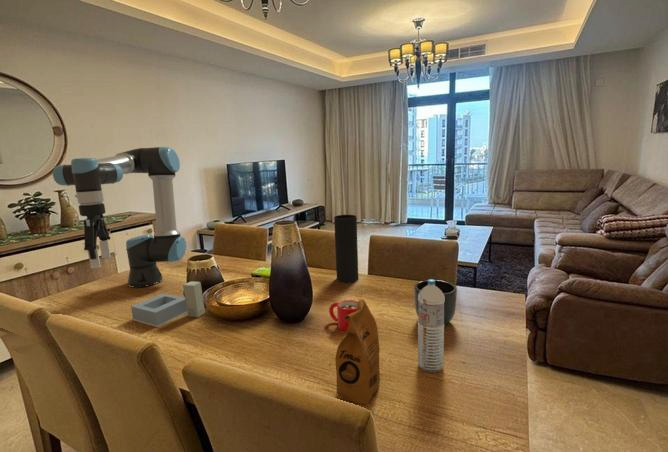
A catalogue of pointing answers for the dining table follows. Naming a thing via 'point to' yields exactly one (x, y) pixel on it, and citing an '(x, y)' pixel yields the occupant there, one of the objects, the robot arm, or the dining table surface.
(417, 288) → the planter
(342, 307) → the mug
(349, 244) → the vase
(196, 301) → the box
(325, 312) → the dining table surface
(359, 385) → the coffee package
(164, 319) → the socket
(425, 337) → the water bottle
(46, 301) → the dining table surface
